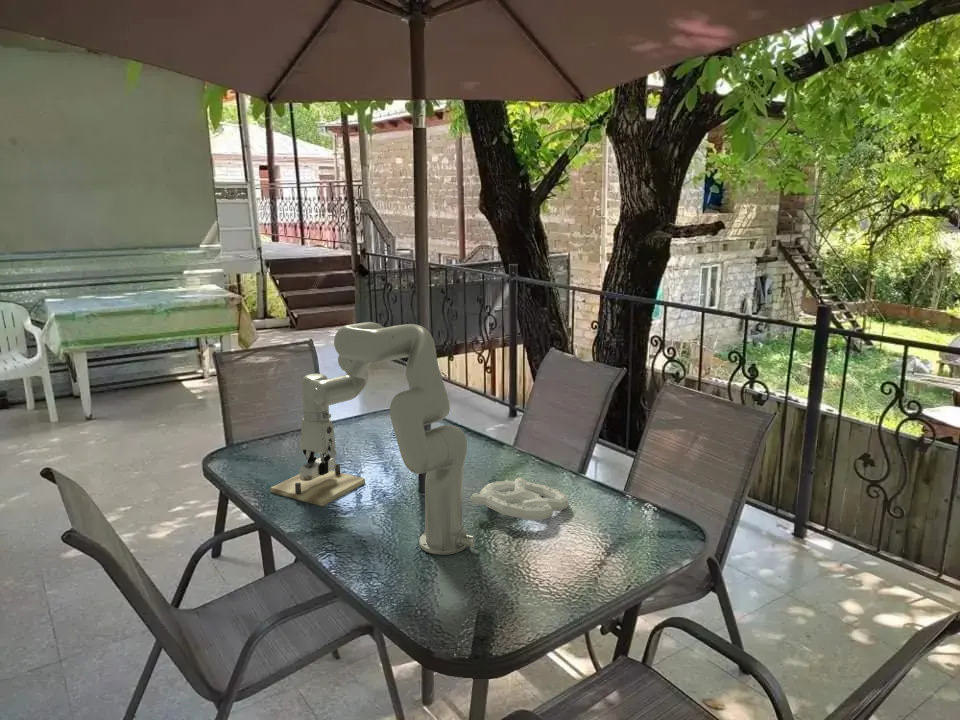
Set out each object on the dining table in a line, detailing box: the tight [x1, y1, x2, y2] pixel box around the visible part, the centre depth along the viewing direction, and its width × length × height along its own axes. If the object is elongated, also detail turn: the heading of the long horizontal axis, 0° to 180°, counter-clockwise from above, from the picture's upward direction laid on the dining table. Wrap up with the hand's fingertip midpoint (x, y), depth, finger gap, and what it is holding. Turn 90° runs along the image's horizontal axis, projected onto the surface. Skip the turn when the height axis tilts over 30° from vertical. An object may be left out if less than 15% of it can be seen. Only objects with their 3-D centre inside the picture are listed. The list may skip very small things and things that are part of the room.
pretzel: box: [470, 477, 570, 521], centre depth 202 cm, size 28×24×6 cm
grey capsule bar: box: [299, 455, 336, 481], centre depth 214 cm, size 4×14×4 cm, turn 152°
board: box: [270, 463, 366, 507], centre depth 215 cm, size 20×20×4 cm
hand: (318, 471), depth 214 cm, fingers closed on grey capsule bar, 4 cm apart
